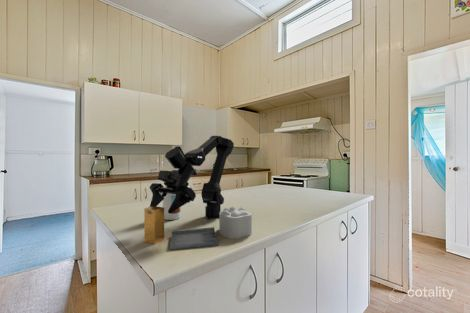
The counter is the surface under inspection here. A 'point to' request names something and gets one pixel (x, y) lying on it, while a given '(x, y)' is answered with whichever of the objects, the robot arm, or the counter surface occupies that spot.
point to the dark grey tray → (193, 238)
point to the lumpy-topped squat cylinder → (235, 222)
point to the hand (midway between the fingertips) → (159, 211)
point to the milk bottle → (166, 205)
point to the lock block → (154, 224)
